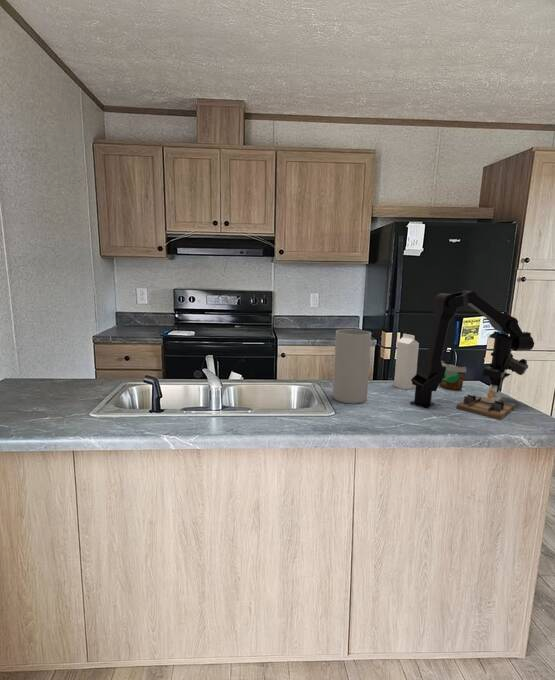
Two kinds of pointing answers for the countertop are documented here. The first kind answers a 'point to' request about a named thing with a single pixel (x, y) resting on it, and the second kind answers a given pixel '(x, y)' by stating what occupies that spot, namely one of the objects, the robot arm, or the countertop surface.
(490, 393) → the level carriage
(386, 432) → the countertop surface
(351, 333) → the cylinder vase
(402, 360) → the milk
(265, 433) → the countertop surface
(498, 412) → the stand
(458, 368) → the food container
